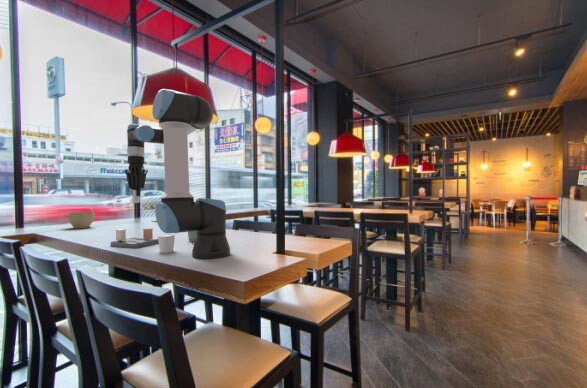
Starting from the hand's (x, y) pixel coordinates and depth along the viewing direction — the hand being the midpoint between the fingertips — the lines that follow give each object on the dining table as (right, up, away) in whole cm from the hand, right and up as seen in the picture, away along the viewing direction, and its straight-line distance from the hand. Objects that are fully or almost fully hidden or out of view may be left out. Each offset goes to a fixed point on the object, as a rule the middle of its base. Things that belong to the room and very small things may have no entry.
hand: (136, 202), depth 151 cm
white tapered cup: (+24, -21, -20) cm, 37 cm away
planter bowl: (-72, -20, +62) cm, 97 cm away
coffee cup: (+27, -21, +6) cm, 35 cm away
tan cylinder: (+7, -18, -2) cm, 19 cm away
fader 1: (-5, -18, -6) cm, 19 cm away
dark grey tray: (+2, -20, -4) cm, 21 cm away
